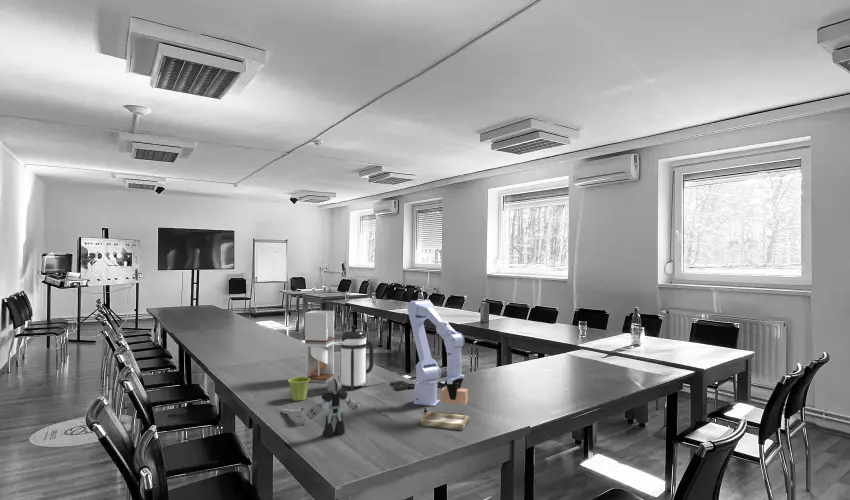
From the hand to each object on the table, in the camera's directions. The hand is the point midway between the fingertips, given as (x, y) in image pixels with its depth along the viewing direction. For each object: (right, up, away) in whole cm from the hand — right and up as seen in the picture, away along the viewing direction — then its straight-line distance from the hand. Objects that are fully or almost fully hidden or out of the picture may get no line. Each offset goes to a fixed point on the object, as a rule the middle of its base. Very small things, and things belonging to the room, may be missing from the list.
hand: (454, 397), depth 186 cm
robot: (-44, -6, -23) cm, 50 cm away
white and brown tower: (-66, -8, +53) cm, 85 cm away
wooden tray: (-4, -6, -13) cm, 14 cm away
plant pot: (-67, -7, +19) cm, 70 cm away
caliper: (-63, -6, -6) cm, 64 cm away
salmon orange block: (0, -2, 0) cm, 2 cm away
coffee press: (-46, -7, +41) cm, 62 cm away
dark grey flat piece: (-15, -8, +41) cm, 44 cm away
